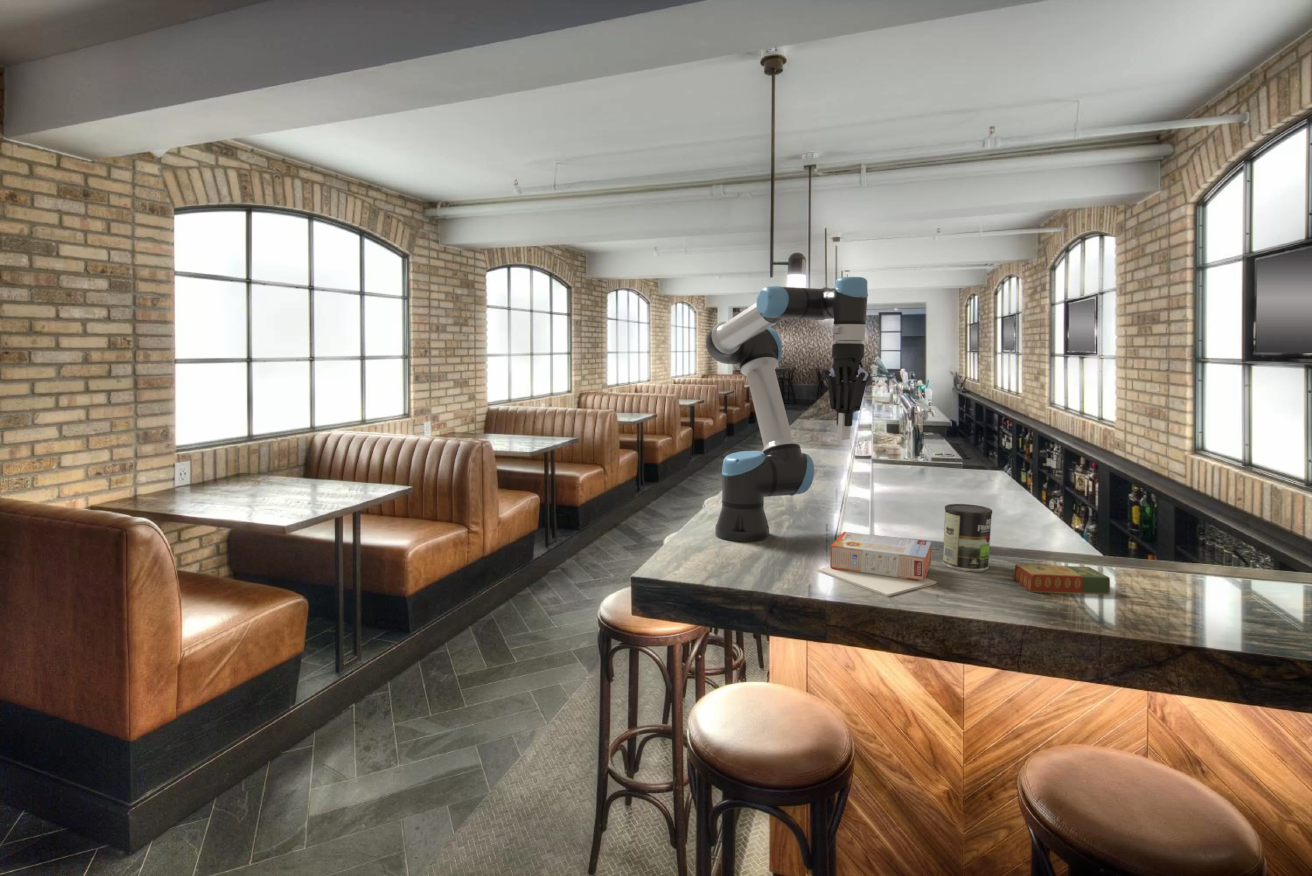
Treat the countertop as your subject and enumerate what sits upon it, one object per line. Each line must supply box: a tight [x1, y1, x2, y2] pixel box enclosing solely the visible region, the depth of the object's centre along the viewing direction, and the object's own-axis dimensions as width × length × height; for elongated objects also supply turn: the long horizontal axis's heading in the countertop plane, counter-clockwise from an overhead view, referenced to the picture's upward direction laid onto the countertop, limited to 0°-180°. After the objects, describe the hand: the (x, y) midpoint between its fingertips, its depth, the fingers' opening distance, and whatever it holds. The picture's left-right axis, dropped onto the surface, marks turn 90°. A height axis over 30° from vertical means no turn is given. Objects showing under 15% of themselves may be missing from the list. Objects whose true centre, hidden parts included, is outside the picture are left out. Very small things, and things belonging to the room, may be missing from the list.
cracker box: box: [829, 531, 933, 581], centre depth 157 cm, size 14×6×21 cm
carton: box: [1013, 564, 1111, 596], centre depth 145 cm, size 8×16×4 cm, turn 85°
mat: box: [816, 566, 937, 597], centre depth 151 cm, size 20×16×1 cm
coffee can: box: [942, 503, 993, 573], centre depth 160 cm, size 10×10×14 cm
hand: (843, 439), depth 165 cm, fingers closed
